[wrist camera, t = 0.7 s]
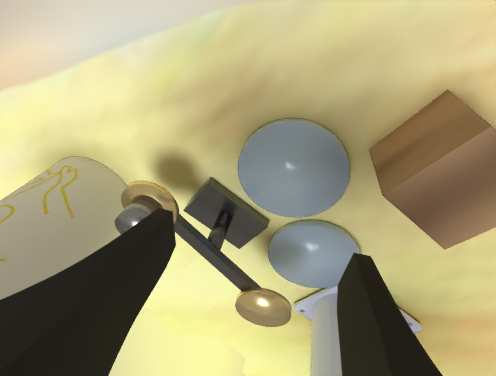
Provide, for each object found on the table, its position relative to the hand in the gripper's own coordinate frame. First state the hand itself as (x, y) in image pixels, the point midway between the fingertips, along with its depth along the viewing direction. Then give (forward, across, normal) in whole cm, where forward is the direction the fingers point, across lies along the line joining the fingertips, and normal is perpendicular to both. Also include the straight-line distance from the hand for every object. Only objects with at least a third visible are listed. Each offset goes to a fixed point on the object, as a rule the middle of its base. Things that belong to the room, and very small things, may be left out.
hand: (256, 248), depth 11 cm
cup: (+10, +16, +9) cm, 21 cm away
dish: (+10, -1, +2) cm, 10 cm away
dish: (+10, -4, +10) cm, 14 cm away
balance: (+10, +4, +7) cm, 13 cm away
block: (+10, -9, -1) cm, 13 cm away
